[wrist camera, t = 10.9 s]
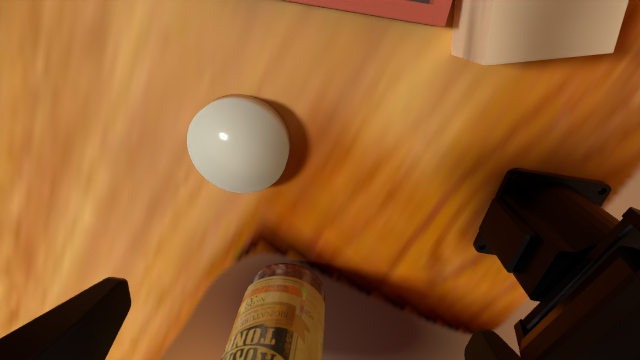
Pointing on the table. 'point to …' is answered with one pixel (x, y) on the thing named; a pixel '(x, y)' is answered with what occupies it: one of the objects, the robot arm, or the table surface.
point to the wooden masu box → (534, 29)
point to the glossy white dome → (239, 143)
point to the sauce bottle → (280, 317)
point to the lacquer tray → (392, 9)
